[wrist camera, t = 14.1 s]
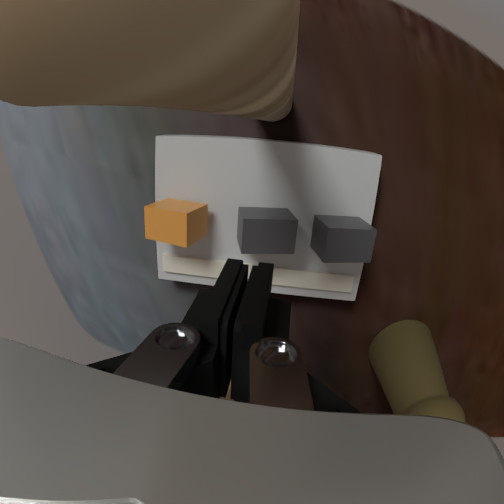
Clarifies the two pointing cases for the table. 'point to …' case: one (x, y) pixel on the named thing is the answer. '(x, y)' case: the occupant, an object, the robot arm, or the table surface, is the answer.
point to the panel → (264, 205)
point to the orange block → (176, 221)
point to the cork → (412, 371)
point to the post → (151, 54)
